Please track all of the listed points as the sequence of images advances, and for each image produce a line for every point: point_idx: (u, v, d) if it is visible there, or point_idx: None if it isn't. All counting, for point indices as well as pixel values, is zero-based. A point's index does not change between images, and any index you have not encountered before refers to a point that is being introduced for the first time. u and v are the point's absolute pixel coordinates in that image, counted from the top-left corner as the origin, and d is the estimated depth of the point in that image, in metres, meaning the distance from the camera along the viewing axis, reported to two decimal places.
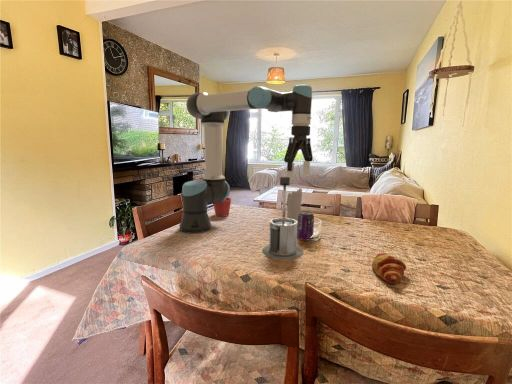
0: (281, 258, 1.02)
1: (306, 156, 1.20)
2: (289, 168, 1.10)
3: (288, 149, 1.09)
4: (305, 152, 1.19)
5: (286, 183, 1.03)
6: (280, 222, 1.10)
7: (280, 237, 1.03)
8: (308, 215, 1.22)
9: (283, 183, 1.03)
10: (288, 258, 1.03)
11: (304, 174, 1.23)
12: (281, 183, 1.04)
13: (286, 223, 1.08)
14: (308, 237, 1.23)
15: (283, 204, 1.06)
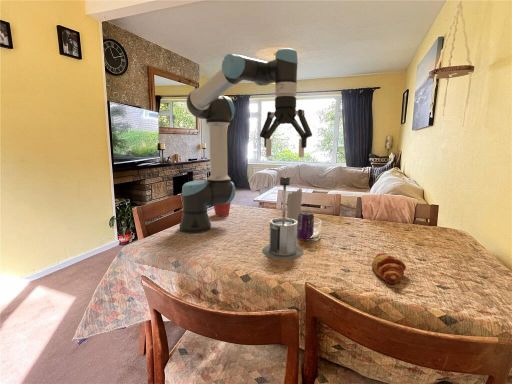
0: (281, 258, 1.02)
1: None
2: None
3: None
4: None
5: (286, 183, 1.03)
6: (280, 222, 1.10)
7: (280, 237, 1.03)
8: (308, 215, 1.22)
9: (283, 183, 1.03)
10: (288, 258, 1.03)
11: None
12: (281, 183, 1.04)
13: (286, 223, 1.08)
14: (308, 237, 1.23)
15: (283, 204, 1.06)
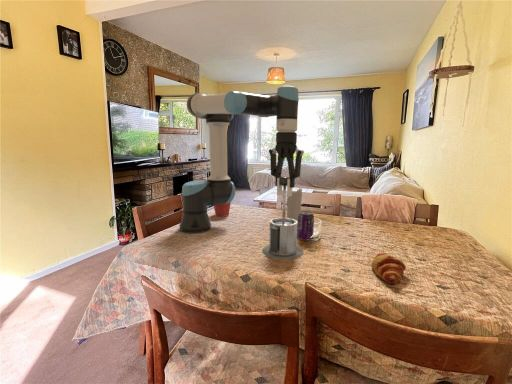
0: (281, 258, 1.02)
1: None
2: None
3: None
4: None
5: (286, 183, 1.03)
6: (280, 222, 1.10)
7: (280, 237, 1.03)
8: (308, 215, 1.22)
9: (283, 183, 1.03)
10: (288, 258, 1.03)
11: None
12: (281, 183, 1.04)
13: (286, 223, 1.08)
14: (308, 237, 1.23)
15: (283, 204, 1.06)
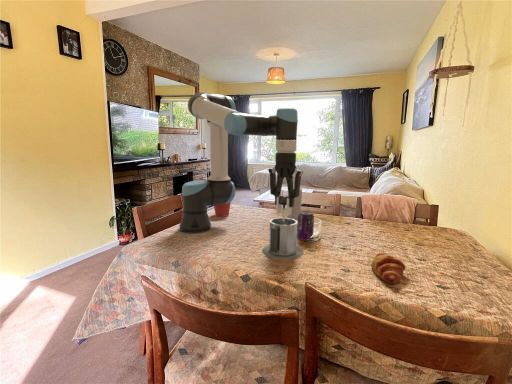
0: (281, 258, 1.02)
1: None
2: None
3: None
4: None
5: (285, 202, 1.04)
6: None
7: (280, 237, 1.03)
8: (308, 215, 1.22)
9: (282, 202, 1.04)
10: (288, 258, 1.03)
11: None
12: (280, 202, 1.05)
13: None
14: (308, 237, 1.23)
15: (282, 223, 1.07)
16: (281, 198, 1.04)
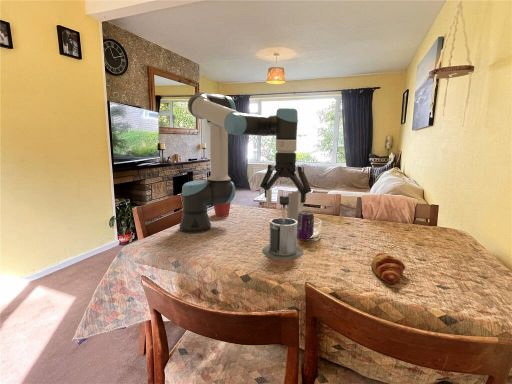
0: (281, 258, 1.02)
1: None
2: None
3: None
4: None
5: (285, 202, 1.04)
6: None
7: (280, 237, 1.03)
8: (308, 215, 1.22)
9: (282, 202, 1.04)
10: (288, 258, 1.03)
11: None
12: (280, 202, 1.05)
13: None
14: (308, 237, 1.23)
15: (282, 223, 1.07)
16: (281, 198, 1.04)
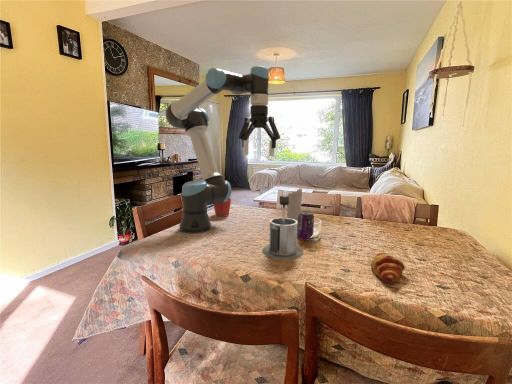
0: (281, 258, 1.02)
1: None
2: None
3: None
4: None
5: (285, 202, 1.04)
6: None
7: (280, 237, 1.03)
8: (308, 215, 1.22)
9: (282, 202, 1.04)
10: (288, 258, 1.03)
11: None
12: (280, 202, 1.05)
13: None
14: (308, 237, 1.23)
15: (282, 223, 1.07)
16: (281, 198, 1.04)
